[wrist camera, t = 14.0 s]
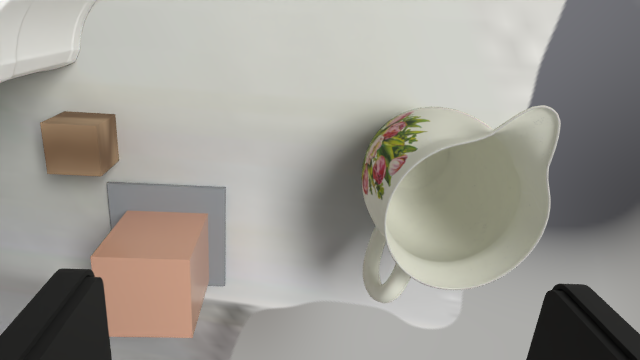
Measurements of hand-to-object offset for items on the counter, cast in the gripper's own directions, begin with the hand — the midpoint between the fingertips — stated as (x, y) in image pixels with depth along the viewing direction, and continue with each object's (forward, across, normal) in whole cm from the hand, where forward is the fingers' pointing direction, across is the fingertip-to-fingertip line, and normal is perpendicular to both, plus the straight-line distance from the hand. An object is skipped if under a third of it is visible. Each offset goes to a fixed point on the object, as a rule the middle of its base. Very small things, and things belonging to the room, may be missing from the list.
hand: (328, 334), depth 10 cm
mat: (+30, +11, +14) cm, 35 cm away
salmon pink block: (+30, +11, +15) cm, 35 cm away
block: (+30, +17, +5) cm, 35 cm away
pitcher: (+31, -10, +6) cm, 33 cm away
